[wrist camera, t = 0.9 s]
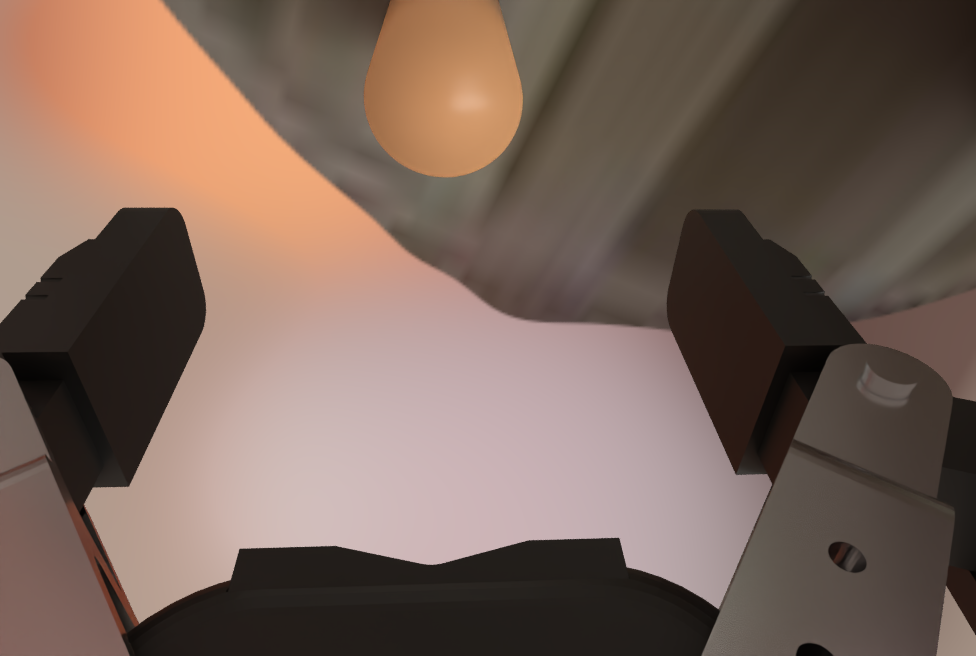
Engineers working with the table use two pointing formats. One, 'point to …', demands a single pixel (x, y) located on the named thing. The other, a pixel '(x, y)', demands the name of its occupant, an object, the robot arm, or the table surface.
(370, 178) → the table surface
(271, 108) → the table surface
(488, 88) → the plug
